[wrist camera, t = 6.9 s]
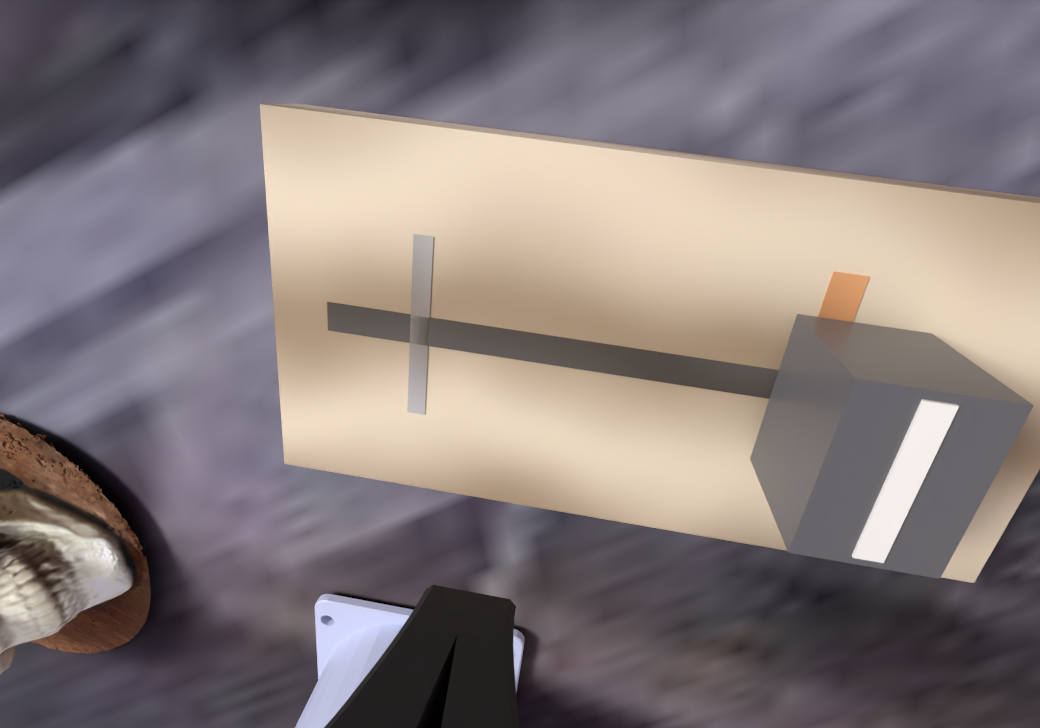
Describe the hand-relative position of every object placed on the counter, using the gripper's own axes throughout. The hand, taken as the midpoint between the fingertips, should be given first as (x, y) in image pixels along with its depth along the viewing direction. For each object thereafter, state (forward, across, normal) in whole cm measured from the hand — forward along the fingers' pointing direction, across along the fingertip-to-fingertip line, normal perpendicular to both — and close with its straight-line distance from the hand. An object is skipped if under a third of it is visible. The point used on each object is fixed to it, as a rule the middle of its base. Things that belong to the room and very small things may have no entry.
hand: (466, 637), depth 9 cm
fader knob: (+7, -8, -2) cm, 10 cm away
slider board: (+9, -3, -2) cm, 10 cm away
